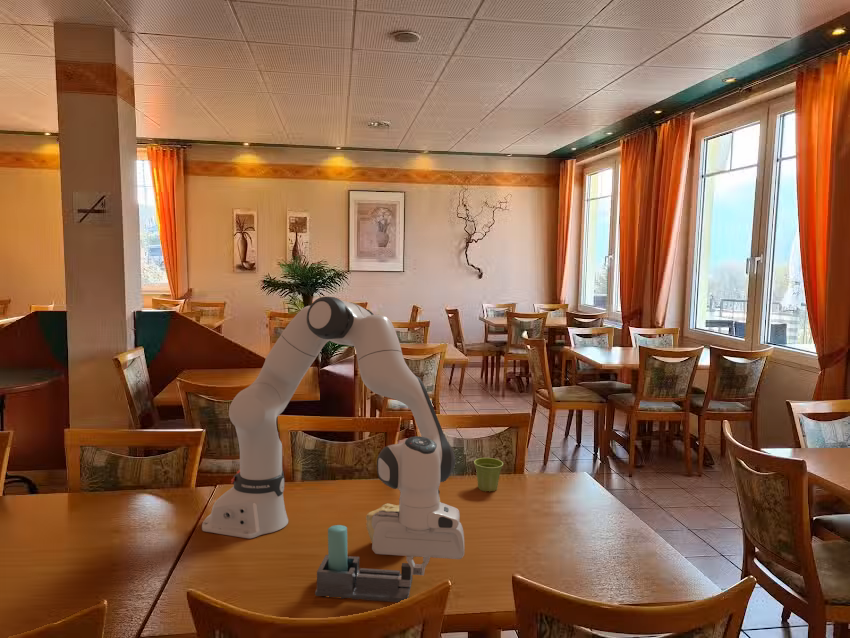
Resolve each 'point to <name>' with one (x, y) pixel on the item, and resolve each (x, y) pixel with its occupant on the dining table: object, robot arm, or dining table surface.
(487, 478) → the plant pot
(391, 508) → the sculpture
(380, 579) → the mount
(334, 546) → the peg
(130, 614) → the dining table surface
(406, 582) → the pin
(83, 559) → the dining table surface
